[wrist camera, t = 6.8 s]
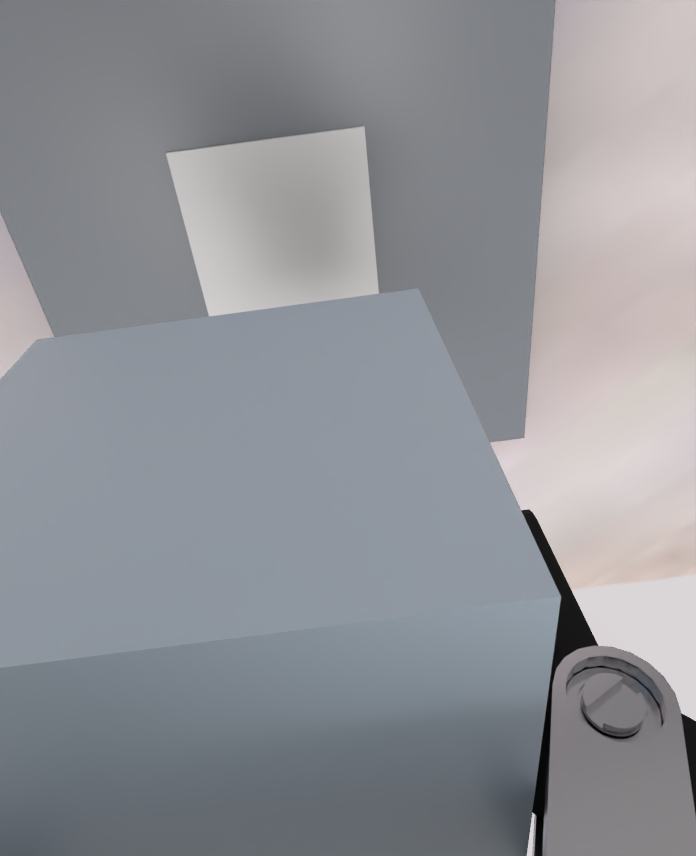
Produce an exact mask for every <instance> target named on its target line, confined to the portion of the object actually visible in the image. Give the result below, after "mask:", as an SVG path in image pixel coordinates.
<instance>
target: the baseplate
mask: <svg viewBox="0 0 696 856" xmlns="http://www.w3.org/2000/svg"><path fill="white" fill-rule="evenodd" d="M554 14H555V0H0V212H1V215H2V217H3V219H4V221H5V224H6V226H7V228H8V231H9V233H10V235H11V238H12V240H13V242H14V244H15V247H16V249H17V251H18V254H19V256H20V258H21V261H22V263H23V265H24V268H25V270H26V272H27V274H28V277H29V279H30V281H31V284H32V286H33V288H34V291H35V293H36V295H37V297H38V300H39V302H40V304H41V307H42V309H43V311H44V314H45V316H46V318H47V320H48V323H49V325H50V327H51V330H52V332H53V334H54V337H61V336H68V335H76V334H83V333H91V332H98V331H105V330H113V329H120V328H128V327H135V326H143V325H150V324H157V323H165V322H172V321H180V320H187V319H194V318H202V317H209V316H217V315H224V314H232V313H239V312H246V311H254V310H261V309H269V308H276V307H283V306H291V305H298V304H306V303H313V302H321V301H328V300H335V299H343V298H350V297H358V296H365V295H373V294H380V293H387V292H395V291H402V290H410V289H417V288H419V291H420V293H421V295H422V297H423V299H424V301H425V304H426V306H427V308H428V310H429V312H430V314H431V317H432V319H433V321H434V323H435V325H436V327H437V330H438V332H439V334H440V336H441V338H442V340H443V343H444V345H445V347H446V349H447V351H448V353H449V356H450V358H451V360H452V362H453V364H454V366H455V368H456V371H457V373H458V375H459V377H460V379H461V381H462V384H463V386H464V388H465V390H466V392H467V394H468V397H469V399H470V401H471V403H472V405H473V407H474V410H475V412H476V414H477V416H478V418H479V420H480V423H481V425H482V427H483V429H484V431H485V433H486V436H487V438H488V440H489V442H496V441H504V440H511V439H519V438H524V433H525V419H526V405H527V391H528V377H529V363H530V349H531V335H532V321H533V307H534V293H535V279H536V265H537V251H538V237H539V223H540V209H541V195H542V181H543V167H544V153H545V139H546V125H547V111H548V97H549V83H550V70H551V56H552V42H553V28H554Z"/></svg>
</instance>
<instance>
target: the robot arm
mask: <svg viewBox="0 0 696 856" xmlns="http://www.w3.org/2000/svg"><path fill="white" fill-rule="evenodd" d="M522 513H523V516H524V518H525V520H526V522H527V524H528V526H529V529H530V531H531V533H532V535H533V537H534V539H535V541H536V544H537V546H538V548H539V550H540V552H541V554H542V557H543V559H544V561H545V563H546V565H547V567H548V570H549V572H550V574H551V576H552V578H553V580H554V583H555V585H556V587H557V589H558V591H559V593H560V596H561V601H560V609H559V616H558V624H557V631H556V639H555V646H554V654H553V661H552V668H551V676H550V683H549V691H548V698H547V706H546V713H545V721H544V728H543V736H542V743H541V751H540V758H539V766H538V773H537V780H536V788H535V795H534V803H533V810H532V812H533V813H534V814H535V819H534V836H533V837H534V838H533V856H696V721H694V720H692V719H691V718H689V717H687V716H685V715H683V714H682V713H681V711H680V707H679V704H678V701H677V698H676V695H675V692H674V691H673V690H672V688H671V687H670V685H669V684H668V682H667V681H666V679H665V678H664V676H663V675H661V674H660V673H659V672H658V671H657V670H656V669H655V668H654V667H653V666H651V665H650V664H649V663H648V662H646V661H644V660H643V659H641V658H639V657H637V656H635V655H634V654H632V653H630V652H627V651H624V650H620V649H617V648H614V647H606V646H598V644H597V642H596V640H595V638H594V636H593V634H592V632H591V630H590V628H589V626H588V624H587V622H586V620H585V618H584V616H583V614H582V611H581V609H580V607H579V605H578V603H577V601H576V599H575V597H574V595H573V593H572V591H571V589H570V587H569V585H568V583H567V581H566V578H565V576H564V574H563V572H562V570H561V568H560V566H559V564H558V562H557V560H556V558H555V556H554V554H553V552H552V550H551V548H550V546H549V544H548V541H547V539H546V537H545V535H544V533H543V531H542V529H541V527H540V525H539V523H538V521H537V519H536V517H535V516H534V514H533V513H532V512H531V511H530V510H522Z"/></svg>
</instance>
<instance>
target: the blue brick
mask: <svg viewBox="0 0 696 856" xmlns="http://www.w3.org/2000/svg"><path fill="white" fill-rule="evenodd" d="M560 601H561V596H560V593H559V591H558V589H557V587H556V585H555V583H554V580H553V578H552V576H551V574H550V572H549V570H548V567H547V565H546V563H545V561H544V559H543V557H542V554H541V552H540V550H539V548H538V546H537V544H536V541H535V539H534V537H533V535H532V533H531V531H530V529H529V526H528V524H527V522H526V520H525V518H524V516H523V513H522V511H521V509H520V507H519V505H518V503H517V500H516V498H515V496H514V494H513V492H512V490H511V487H510V485H509V483H508V481H507V479H506V477H505V474H504V472H503V470H502V468H501V466H500V464H499V461H498V459H497V457H496V455H495V453H494V451H493V449H492V446H491V444H490V442H489V440H488V438H487V436H486V433H485V431H484V429H483V427H482V425H481V423H480V420H479V418H478V416H477V414H476V412H475V410H474V407H473V405H472V403H471V401H470V399H469V397H468V394H467V392H466V390H465V388H464V386H463V384H462V381H461V379H460V377H459V375H458V373H457V371H456V368H455V366H454V364H453V362H452V360H451V358H450V356H449V353H448V351H447V349H446V347H445V345H444V343H443V340H442V338H441V336H440V334H439V332H438V330H437V327H436V325H435V323H434V321H433V319H432V317H431V314H430V312H429V310H428V308H427V306H426V304H425V301H424V299H423V297H422V295H421V293H420V291H419V288H417V289H410V290H402V291H395V292H387V293H380V294H373V295H365V296H358V297H350V298H343V299H335V300H328V301H321V302H313V303H306V304H298V305H291V306H283V307H276V308H269V309H261V310H254V311H246V312H239V313H232V314H224V315H217V316H209V317H202V318H194V319H187V320H180V321H172V322H165V323H157V324H150V325H143V326H135V327H128V328H120V329H113V330H105V331H98V332H91V333H83V334H76V335H68V336H61V337H53V338H46V339H39V340H36V341H35V342H34V343H33V344H32V346H31V347H30V348H29V349H28V350H27V351H26V352H25V353H24V354H23V355H22V356H21V358H20V359H19V360H18V361H17V362H16V363H15V364H14V365H13V366H12V367H11V369H10V370H9V371H8V372H7V373H6V374H5V375H4V376H3V377H2V378H1V379H0V856H526V854H527V848H528V840H529V832H530V824H531V817H532V810H533V803H534V795H535V788H536V780H537V773H538V766H539V758H540V751H541V743H542V736H543V728H544V721H545V713H546V706H547V698H548V691H549V683H550V676H551V668H552V661H553V654H554V646H555V639H556V631H557V624H558V616H559V609H560Z"/></svg>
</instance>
